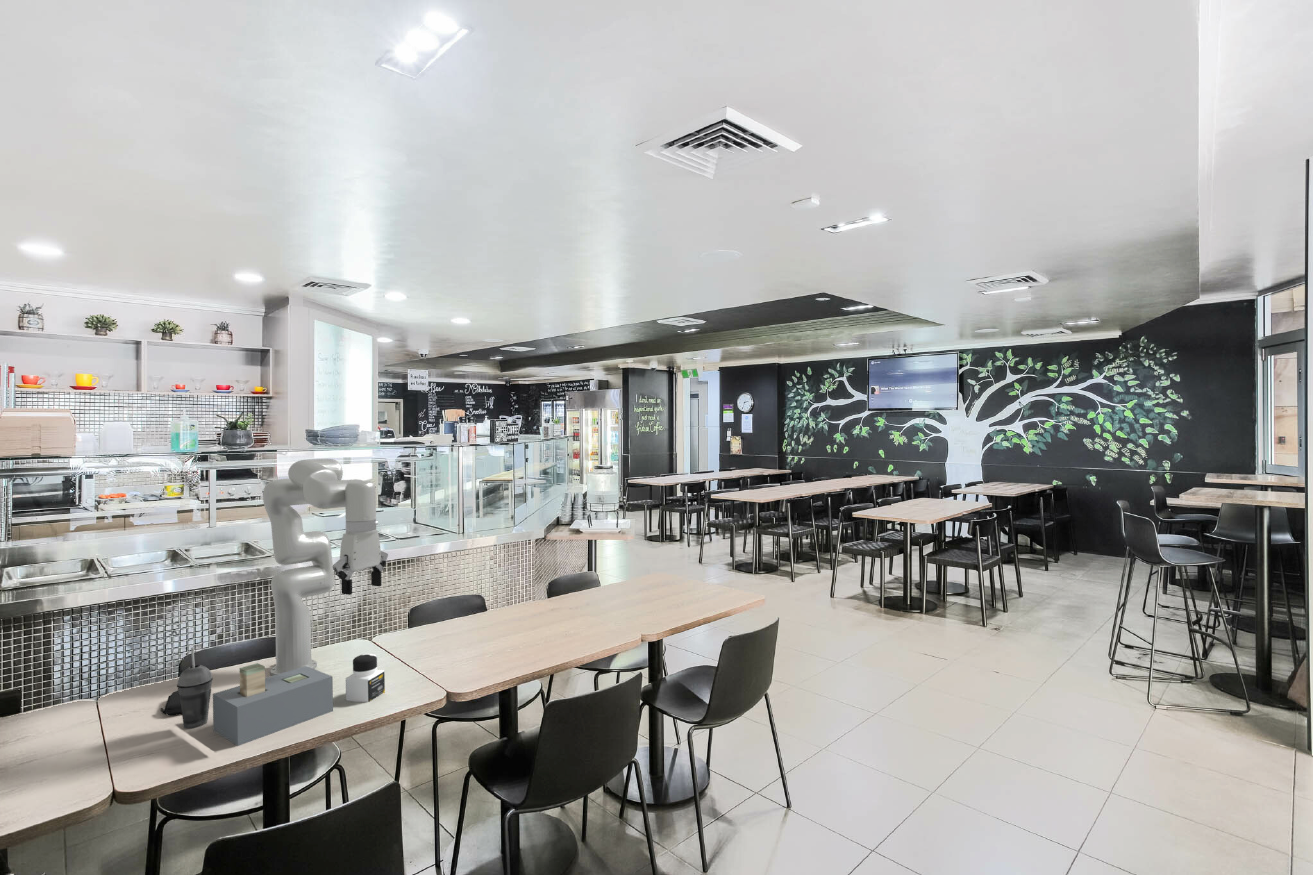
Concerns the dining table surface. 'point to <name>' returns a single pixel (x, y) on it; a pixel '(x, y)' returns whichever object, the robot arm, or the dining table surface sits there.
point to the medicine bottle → (365, 679)
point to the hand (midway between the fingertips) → (362, 589)
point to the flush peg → (294, 678)
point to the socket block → (272, 706)
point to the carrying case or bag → (174, 705)
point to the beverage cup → (195, 694)
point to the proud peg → (252, 679)
